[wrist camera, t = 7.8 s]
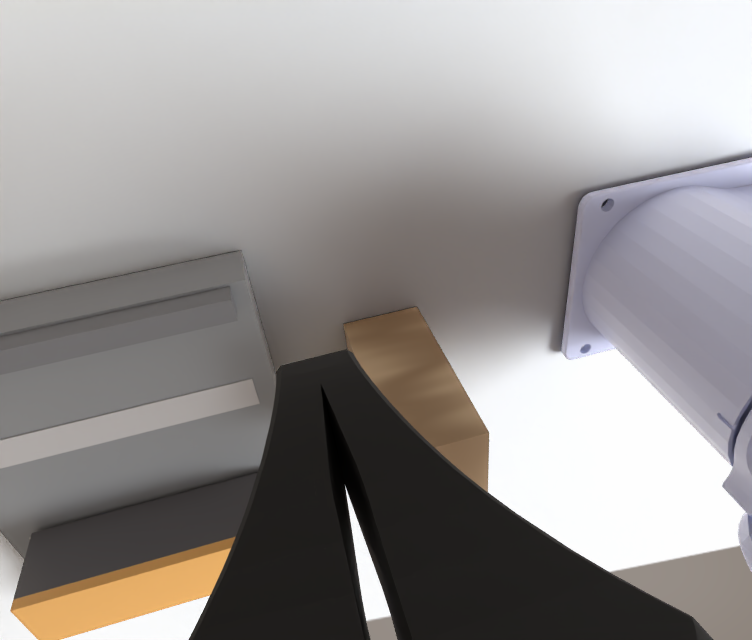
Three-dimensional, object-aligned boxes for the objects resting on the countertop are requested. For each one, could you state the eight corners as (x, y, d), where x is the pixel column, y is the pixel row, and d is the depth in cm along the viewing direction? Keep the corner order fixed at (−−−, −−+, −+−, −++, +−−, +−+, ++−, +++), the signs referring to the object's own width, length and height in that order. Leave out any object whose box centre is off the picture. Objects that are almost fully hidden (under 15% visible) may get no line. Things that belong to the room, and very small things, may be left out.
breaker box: (241, 250, 19) (246, 293, 17) (314, 514, 28) (324, 565, 26) (-112, 324, 18) (-156, 382, 15) (84, 579, 26) (74, 639, 24)
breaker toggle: (271, 468, 22) (280, 533, 20) (283, 505, 24) (293, 570, 21) (31, 533, 21) (10, 611, 19) (59, 568, 22) (42, 644, 20)
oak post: (417, 306, 22) (488, 432, 17) (421, 363, 24) (487, 494, 19) (343, 323, 22) (392, 459, 16) (353, 380, 24) (400, 520, 18)
